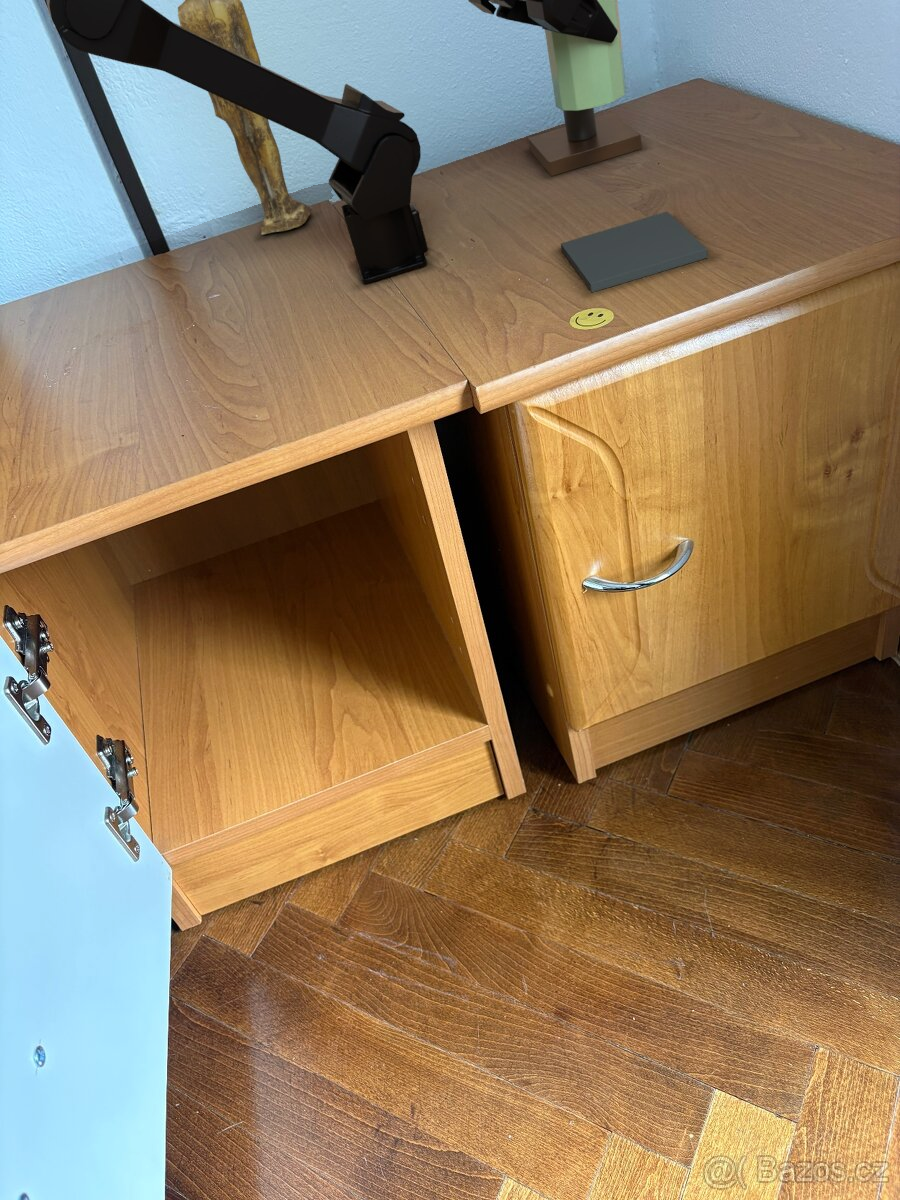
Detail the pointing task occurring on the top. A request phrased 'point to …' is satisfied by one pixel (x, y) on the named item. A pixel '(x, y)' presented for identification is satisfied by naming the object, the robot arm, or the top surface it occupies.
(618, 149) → the stand
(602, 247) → the mat
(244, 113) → the sculpture
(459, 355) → the top surface
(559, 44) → the green faceted tube
